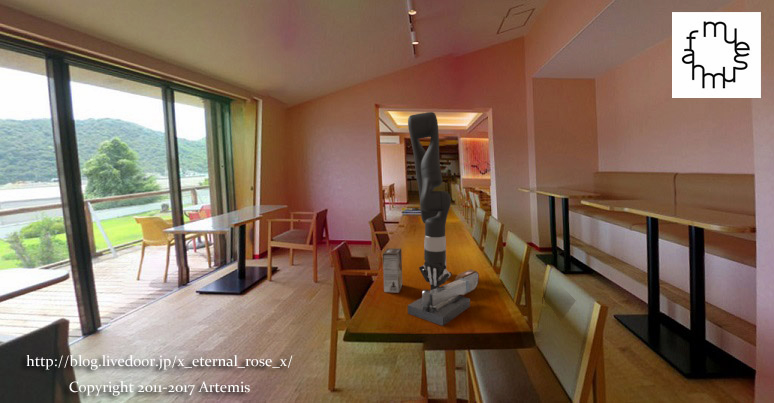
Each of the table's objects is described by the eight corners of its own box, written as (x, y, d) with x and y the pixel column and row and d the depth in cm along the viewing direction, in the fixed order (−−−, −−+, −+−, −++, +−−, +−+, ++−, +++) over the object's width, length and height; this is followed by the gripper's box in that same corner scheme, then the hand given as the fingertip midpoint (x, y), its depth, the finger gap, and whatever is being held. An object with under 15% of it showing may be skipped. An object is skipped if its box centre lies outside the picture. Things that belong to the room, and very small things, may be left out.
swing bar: (432, 306, 106) (432, 294, 106) (425, 303, 109) (425, 291, 108) (468, 291, 118) (468, 280, 118) (461, 289, 121) (461, 278, 120)
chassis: (436, 296, 124) (436, 273, 123) (469, 306, 115) (469, 281, 114) (407, 313, 111) (406, 287, 110) (442, 326, 102) (442, 297, 101)
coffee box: (388, 284, 139) (386, 247, 138) (402, 284, 138) (401, 248, 136) (383, 292, 131) (382, 253, 129) (399, 293, 129) (398, 254, 128)
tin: (473, 286, 134) (473, 266, 133) (480, 288, 132) (480, 268, 131) (452, 297, 124) (452, 275, 123) (459, 299, 122) (459, 277, 121)
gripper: (457, 248, 112) (456, 296, 114) (426, 242, 121) (426, 286, 123) (445, 253, 106) (444, 303, 108) (413, 246, 115) (413, 292, 117)
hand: (434, 294), depth 116 cm, fingers closed
